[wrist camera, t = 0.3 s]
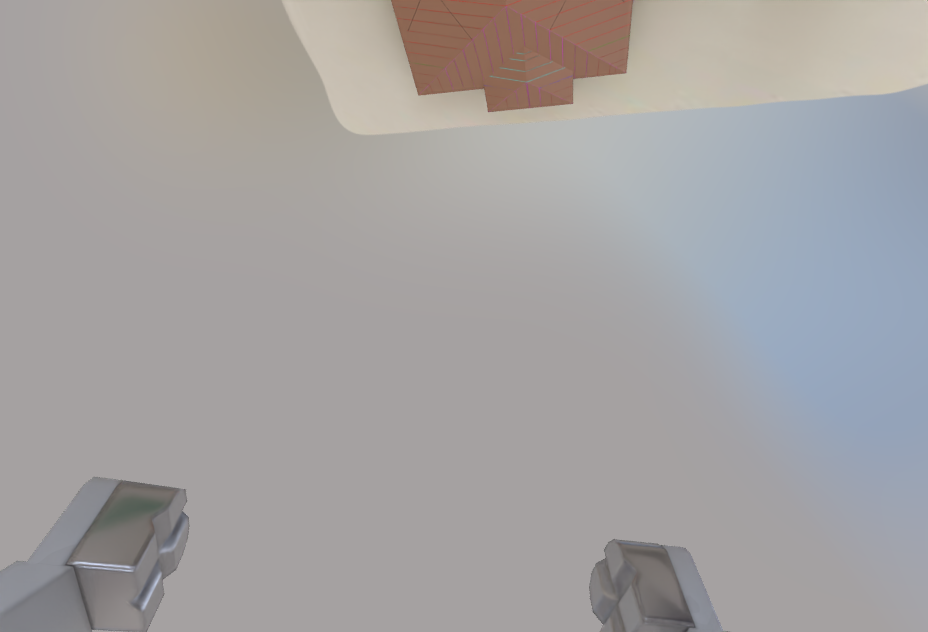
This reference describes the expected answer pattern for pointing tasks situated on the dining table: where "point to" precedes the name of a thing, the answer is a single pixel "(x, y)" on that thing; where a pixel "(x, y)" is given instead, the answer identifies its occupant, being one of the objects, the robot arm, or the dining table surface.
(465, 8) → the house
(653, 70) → the dining table surface
